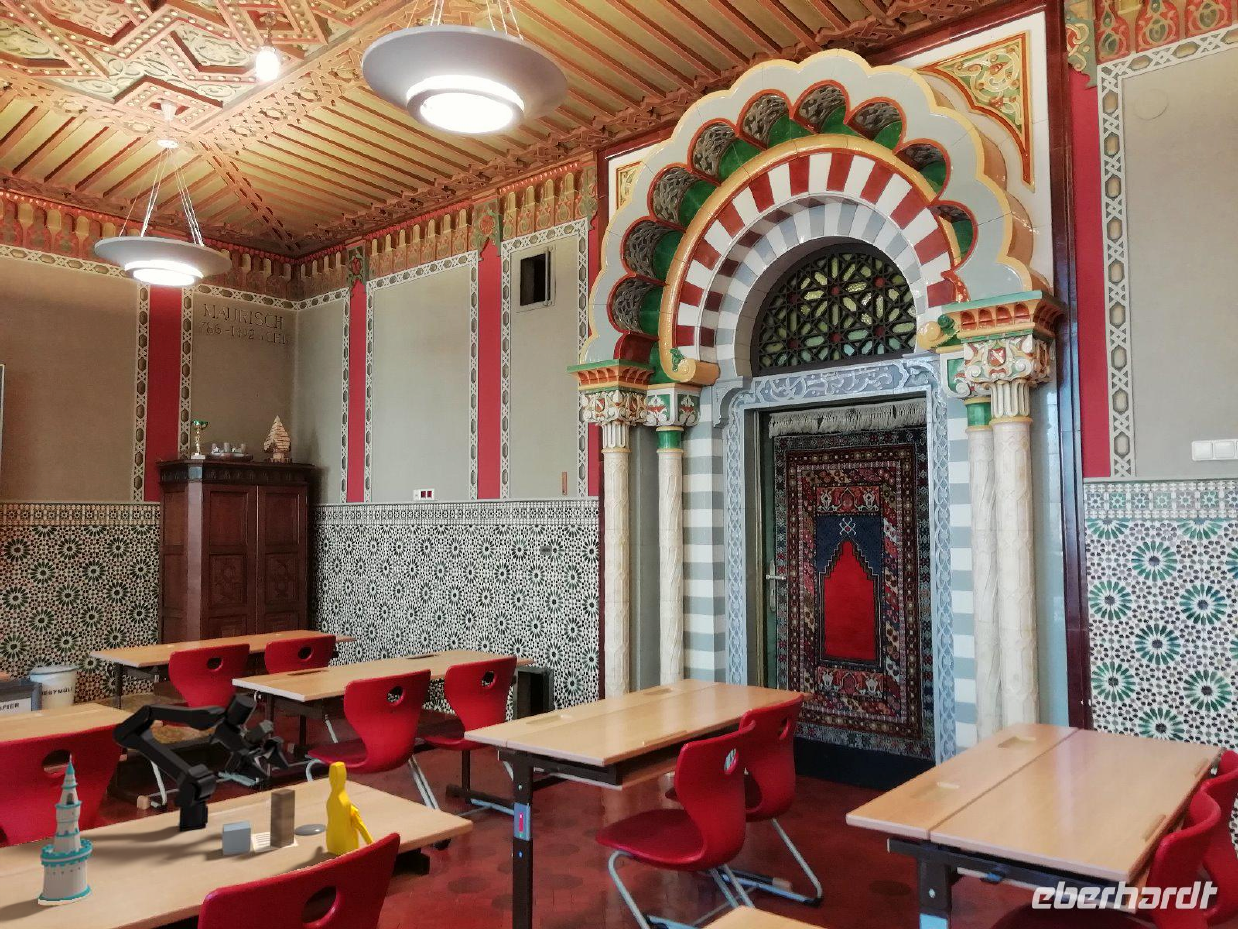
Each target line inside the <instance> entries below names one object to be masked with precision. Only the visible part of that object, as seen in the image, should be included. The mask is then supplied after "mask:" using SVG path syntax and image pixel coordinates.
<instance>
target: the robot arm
mask: <svg viewBox="0 0 1238 929" xmlns="http://www.w3.org/2000/svg"><path fill="white" fill-rule="evenodd" d="M257 705H258V702H257V701H256V700H255V699H254V698H253V697H249V696H248V695H243V694H241V693H239V692H236V693H234V694H232V696H231V698H230V700H229V702H228V704H227V706H226V708H223V707H222V706H221V705H205V706H198V707H190V706H189V707H187V706H180V705H171V704H161V703H159V702H152V703H149V704H144V705H142V706H141V707H140V708H139V709H138V710H137V711H136V712H134V713H133V714H132V715H130V716H128V717H127V718H125V719H124V720H123V721H122V722H119V723H117V724H116V725H115V726H114V728H113V730H112V739H113V741H114V742H115V743H116V744H117V745H119V746H121V747H123V748H125V749H128V750H132V751H133V750H134V751H137V752H139V753H140V754H142V755H143V757H146V758H147V759H148V760H149V761H150V762H152V763H153V764H154V765H155V766H156V767H158V768H159V769H160V770H162V772H164V773H165V774H167V775H168V776H169V777H171V778H172V779H173V780H174V781H175V783H176V786H177V789H178V790H177V791H178V793H177V794H176V795H175V796H174V797H173V799H172V802H173V805H174V807H176V808H179V818H178V819H179V821H178V831H179V832H183V831H190V830H196V829H197V830H198V829H204V828H206V827H207V824H208V822H209V806H208V805H207V800H210V799H212V796H213V794H214V792H215V790H216V788H217V777H216V775H214V774H213V773H214V771H213V770H210V769H208V768H207V766H206V765H204V764H203V763H200V764H198V765H195V766H191V765H190V764H188V763H187V762H186V761H184V760H183V759H182V758H181V757H179V756H178V755H177V754H176V753H175V752H173V751H172V750H171V749H169V748H168V747H167V745H164V744H163V743H162V742H161V741H159V740H158V739H157V738H156V737H155V736H154V735H153V730H152V728H151V727H152V726H153V725H155V723H156V721H159V722H165V723H166V722H167V723H169V722H170V723H177V724H183V725H187V726H188V727H189V728H190V729H193V730H196V731H200V732H205V731H207V730H208V731H209V730H212V729H214V731H213V732H211V733H209V734H208V744H209V745H213V744H215V743H221V744H222V745H224V747H226V748H227V749H228V750H227V753H228V754H229V755H230V758H229V759H228V761H227V762H226V764H225V765H224V769H225V772H226V773H227V774H229V775H230V776H233V775H235V776H242V777H247V778H248V777H249V778H254V779H260V780H265V781H267V780H269V778H270V775H269V774H268V773H267V771H266V770H265V769H264V768H262V767H261V765H259V764H258V763H257V762H256V759H258V758H260V759H261V760H263V761H265V764H267V765H270V766H273V767H276V768H278V769H281V770H285V771H286V772H287V771H289V769H290V768H291V767H290V765H289V763H288V761H287V760H286V757H285V756H284V754H283V752H282V747H283V746H284V739H283V738H282V737H280V735H278V736H274V737H271V738H268V739H266V741H265V739H264V738H266V737H267V736H268V735H270V734H271V733H273V732H274V731H275V730H274V727H275V726H274V725H275V724H274V722H272V721H271V720H269V719H264V720H262V722H260V723H259V722H258V723H257V724H256V725H255V726H253V727H252V728H251V729H250V730H246V731H245V730H244V729H243V728H242V727H241V726H243V725H246V723H247V722H248V721H249V719H250V718H251V716H252V714H253V712H254V711H255V709H256V707H257ZM264 742H265V743H264ZM262 744H263V746H262Z"/></svg>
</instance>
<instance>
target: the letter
mask: <svg viewBox="0 0 1238 929" xmlns="http://www.w3.org/2000/svg"><path fill="white" fill-rule="evenodd" d="M251 835H252V836H251V844H252V846H253V849H254V853H257V854H258V853H261V852H268V851H276V850H281V849H287V848H294V847H299V844H298V842H297V839H296V838H295V836H294V843H293V844H291V845H288V846H286V847H283V848H278V847H274V846H270V831H267V832H266V831H265V832H259V833H251Z"/></svg>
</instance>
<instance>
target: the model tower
mask: <svg viewBox="0 0 1238 929" xmlns="http://www.w3.org/2000/svg"><path fill="white" fill-rule="evenodd" d="M75 772H76V771H75V769H74V767H73V765H72V754H71V753H70V755H69V763H68V766H67V768H66V770H65V773H64V774H65V776H64V779H63V784H62V785H61V786H60V787H61V788H62V789H63V790H62V792H61V796H60V799H59V802H58V803H56V804H55V805H54V807H55V808H56V809H55V810H56V812H55V813H56V814H55V818H56V823H57V826H56V832H55V834H54V841H53V844H47V845H46V846H45V847H42V848H41V853H40V856H39V859H40V861H41V862H40V864H41V865H42V866H43V869H44V874H43V886H42V892H41V893H40V894H39V896H38V898H39V899H40V900H46V901H60V900H72V899H75V898H79V897H83V896H85V895H86V894H88V893H89V892H90V890H91V887H90V885H89V884H88V882H87V875H88V873H87V872H88V871H87V868H88V867H87V865H88V859H89V858H90V857H91V853H92V852H93V846H92V841H91V840H90V839H86V838H80V830H79V821H78V820H79V819H80V814H81V804H82V800H79V798H78V794H77V790H76V787H77V785H78V782H76V777H75ZM91 891H92V890H91Z"/></svg>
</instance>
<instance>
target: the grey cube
mask: <svg viewBox="0 0 1238 929" xmlns="http://www.w3.org/2000/svg"><path fill="white" fill-rule="evenodd" d="M251 832H252V827H251V823H250V821H249V820H247V821H246V820H245V821H238V822H232V823H224V824H222V836H221V837H222V839H221V840H222V841H221V850H222V855H223V856H224V855H226V856H230V855H237V854H242V853H243V854H244V853H250V852H251V844H252V841H251V835H252V833H251Z"/></svg>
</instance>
